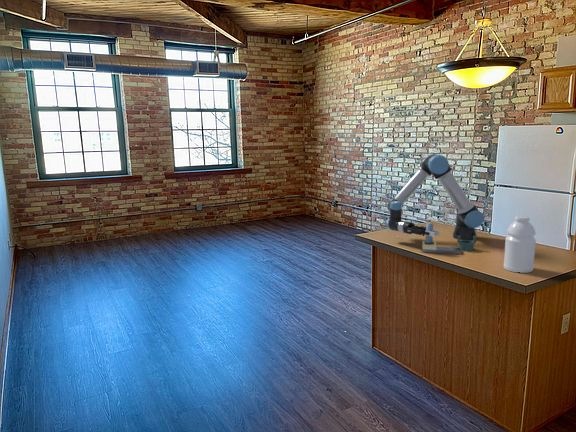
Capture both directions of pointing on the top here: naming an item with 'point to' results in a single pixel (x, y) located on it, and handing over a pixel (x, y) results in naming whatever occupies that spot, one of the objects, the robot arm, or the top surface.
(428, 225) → the peg
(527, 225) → the bottle
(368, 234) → the top surface
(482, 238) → the top surface
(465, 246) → the bracket
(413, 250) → the top surface
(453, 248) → the rail
